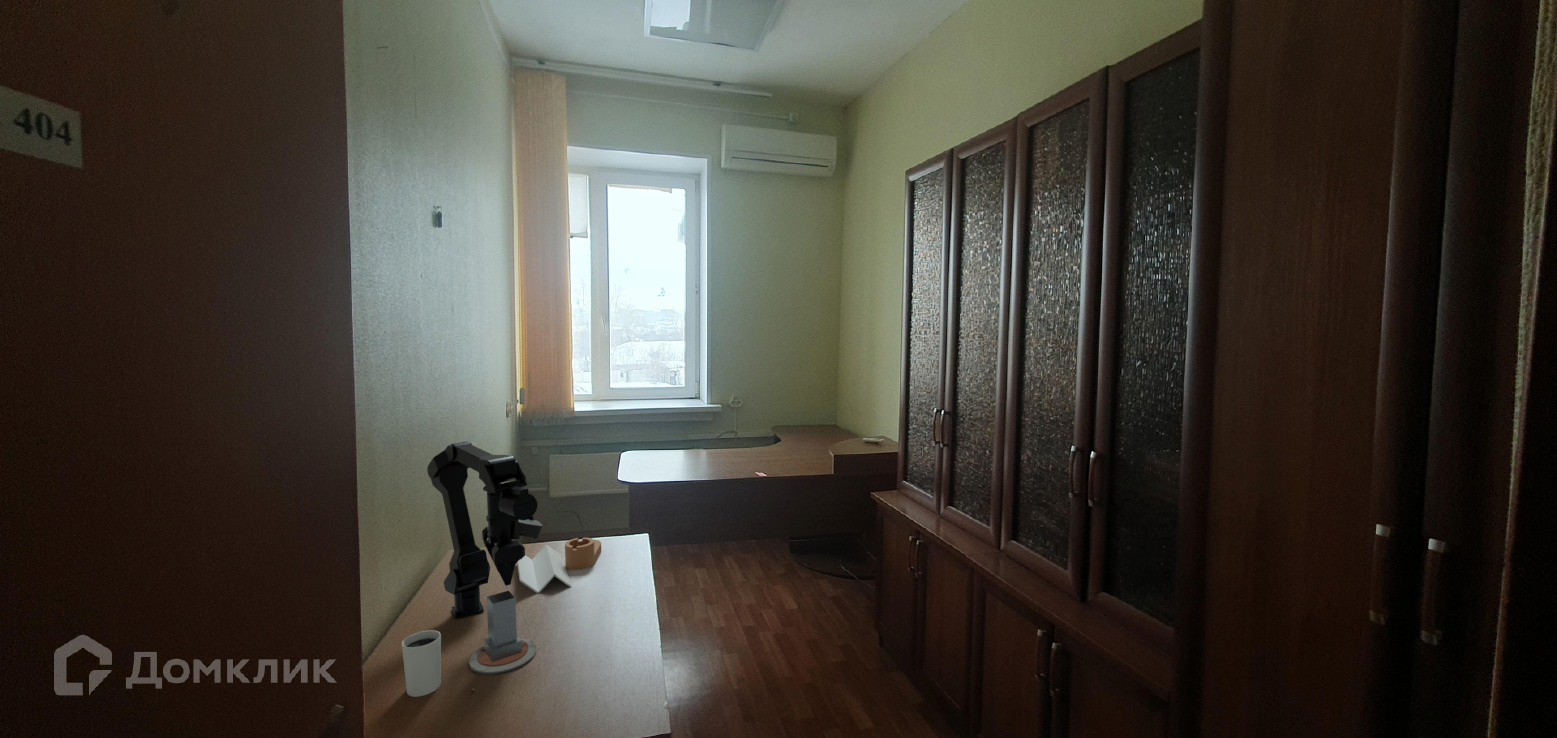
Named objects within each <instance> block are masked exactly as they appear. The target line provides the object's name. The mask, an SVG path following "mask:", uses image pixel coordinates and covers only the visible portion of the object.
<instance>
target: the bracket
mask: <svg viewBox="0 0 1557 738" xmlns="http://www.w3.org/2000/svg"><path fill="white" fill-rule="evenodd" d="M601 553H602V541H600V540H599V539H598V540H597V539H593V538H592V537H582V538H581V540H579V537H576V538H571V539H569V540H567V541H565V542H564V558H565V560H564V564H565V567H566V570H570V571H582V570H586V569H589V568H591V567H593V566H594V565H595V564H596V562H597V560H598V558H599V556H600V555H601Z"/></svg>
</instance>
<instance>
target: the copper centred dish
mask: <svg viewBox="0 0 1557 738" xmlns="http://www.w3.org/2000/svg"><path fill="white" fill-rule="evenodd" d="M519 638H520V639H521V640H522V652H521V653H518V654H515V655H512V656H509V657H506V658H503V659H500V660H497V661H494V662H492V661H491V660H490V658H489V657H488V655H487V654H486V652H485V651H484V645H482V646H481V647H479V648H478V649H476V651H474V652H473V653H472V654H471V656H470V657H469V661H468V662H469V663H468V664H469V669H470V670H471V671H472V672H474V673H476V674H480V675H498V674H503V673H508V672H511V671H515V670H517V669H519V668H521V667H523V666H524V665H526V664H527V663H529V662H530V661H532V660H533V658H534V657H535V655H536V653H537V646H536V643H535V642H534V641H532V640H530V639H528V638H524V637H519Z"/></svg>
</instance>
